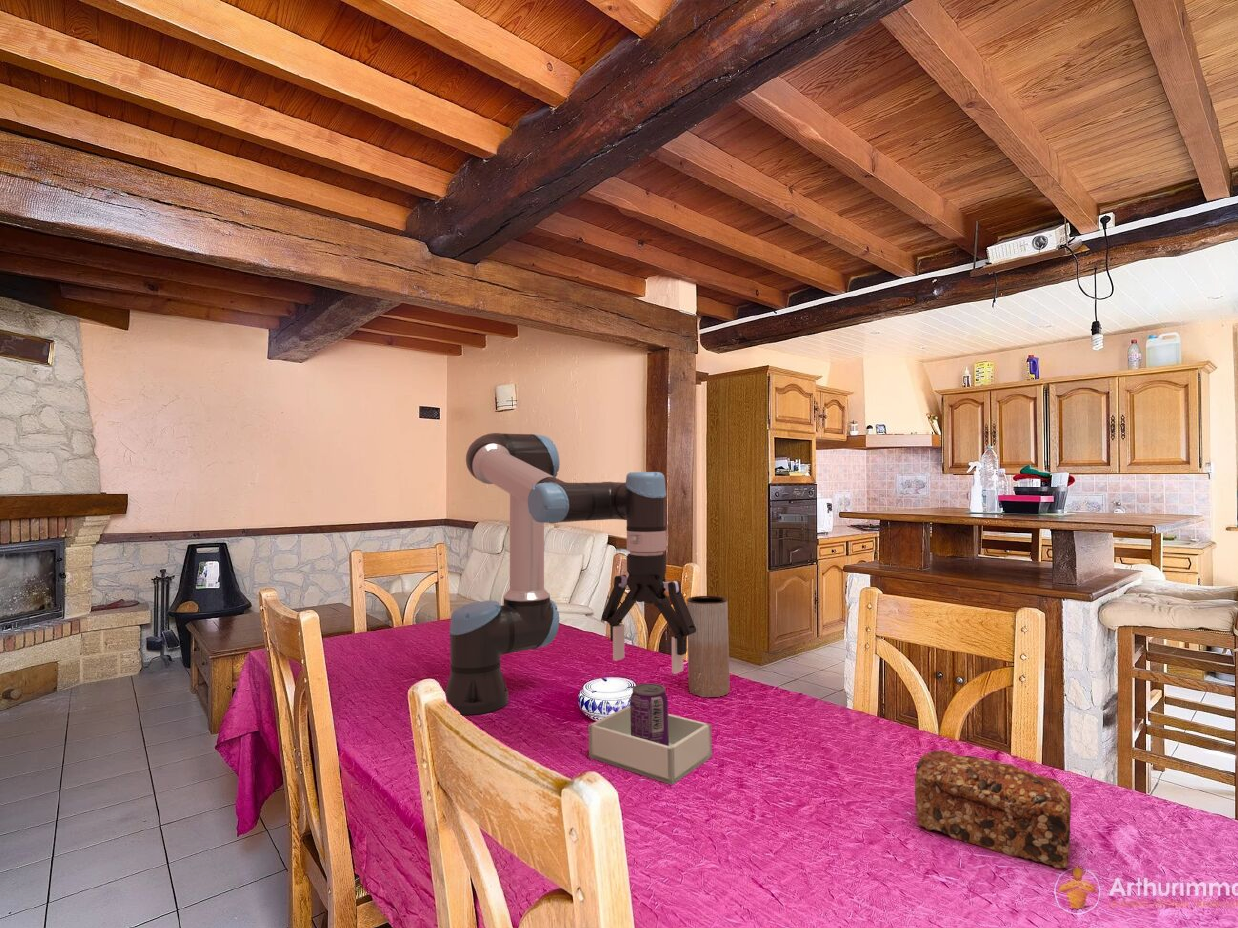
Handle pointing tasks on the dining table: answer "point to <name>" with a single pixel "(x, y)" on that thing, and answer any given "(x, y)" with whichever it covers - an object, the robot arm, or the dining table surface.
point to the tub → (651, 747)
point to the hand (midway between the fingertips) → (647, 665)
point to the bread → (994, 806)
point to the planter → (708, 646)
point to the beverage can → (649, 713)
